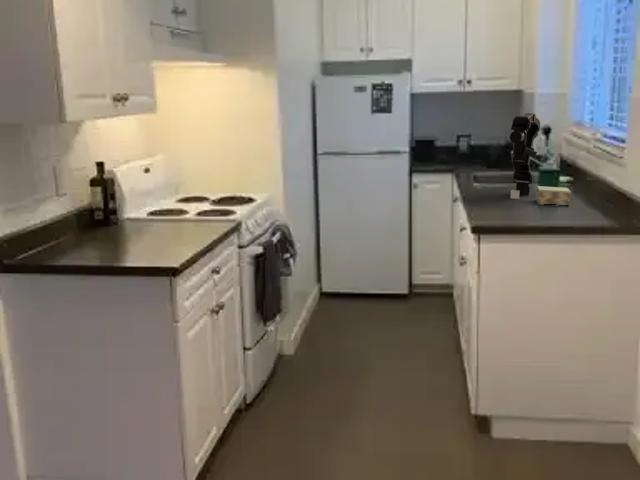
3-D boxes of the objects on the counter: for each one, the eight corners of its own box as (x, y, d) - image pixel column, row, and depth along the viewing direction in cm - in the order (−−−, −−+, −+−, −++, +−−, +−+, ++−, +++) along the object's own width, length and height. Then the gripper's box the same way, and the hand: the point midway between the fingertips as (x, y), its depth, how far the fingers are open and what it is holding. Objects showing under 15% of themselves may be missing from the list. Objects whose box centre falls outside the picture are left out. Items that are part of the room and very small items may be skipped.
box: (537, 204, 327) (539, 191, 325) (535, 200, 340) (537, 187, 339) (569, 206, 324) (570, 193, 322) (565, 201, 337) (567, 189, 336)
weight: (510, 198, 343) (511, 190, 342) (510, 197, 346) (511, 189, 346) (518, 199, 342) (519, 191, 341) (518, 198, 345) (519, 190, 345)
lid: (539, 191, 325) (539, 189, 325) (537, 187, 339) (537, 186, 338) (570, 193, 322) (570, 191, 322) (567, 189, 336) (567, 187, 335)
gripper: (538, 144, 328) (535, 177, 331) (535, 141, 345) (532, 173, 349) (514, 143, 330) (511, 175, 333) (512, 140, 348) (509, 171, 351)
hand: (516, 174), depth 341 cm, fingers open, 5 cm apart
